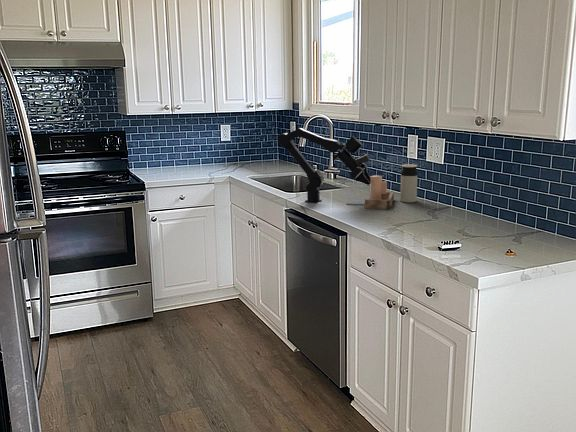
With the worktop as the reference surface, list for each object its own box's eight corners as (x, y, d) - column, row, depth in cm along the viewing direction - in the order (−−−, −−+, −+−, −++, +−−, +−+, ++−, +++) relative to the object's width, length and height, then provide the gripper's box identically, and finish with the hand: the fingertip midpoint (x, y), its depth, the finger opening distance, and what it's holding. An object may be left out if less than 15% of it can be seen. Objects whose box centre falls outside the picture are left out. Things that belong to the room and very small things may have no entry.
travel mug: (419, 202, 280) (420, 165, 276) (405, 203, 278) (406, 166, 274) (411, 199, 287) (412, 163, 283) (397, 200, 285) (398, 164, 281)
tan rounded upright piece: (369, 204, 276) (369, 177, 273) (370, 202, 281) (371, 175, 278) (385, 205, 274) (386, 177, 271) (386, 202, 280) (387, 175, 276)
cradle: (364, 208, 268) (364, 199, 267) (370, 198, 290) (370, 191, 289) (389, 209, 265) (390, 200, 265) (393, 199, 287) (393, 191, 286)
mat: (346, 204, 277) (346, 203, 277) (349, 200, 286) (349, 199, 286) (367, 205, 274) (367, 204, 274) (369, 201, 284) (369, 200, 284)
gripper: (357, 150, 265) (380, 174, 265) (362, 146, 283) (384, 168, 283) (340, 167, 269) (363, 190, 269) (346, 162, 287) (368, 184, 286)
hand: (370, 183), depth 277 cm, fingers open, 9 cm apart
